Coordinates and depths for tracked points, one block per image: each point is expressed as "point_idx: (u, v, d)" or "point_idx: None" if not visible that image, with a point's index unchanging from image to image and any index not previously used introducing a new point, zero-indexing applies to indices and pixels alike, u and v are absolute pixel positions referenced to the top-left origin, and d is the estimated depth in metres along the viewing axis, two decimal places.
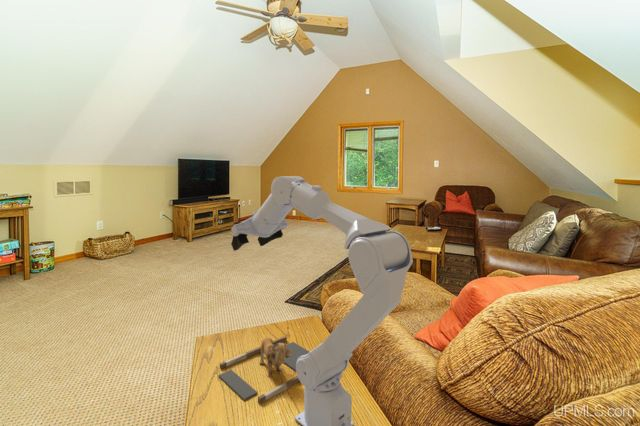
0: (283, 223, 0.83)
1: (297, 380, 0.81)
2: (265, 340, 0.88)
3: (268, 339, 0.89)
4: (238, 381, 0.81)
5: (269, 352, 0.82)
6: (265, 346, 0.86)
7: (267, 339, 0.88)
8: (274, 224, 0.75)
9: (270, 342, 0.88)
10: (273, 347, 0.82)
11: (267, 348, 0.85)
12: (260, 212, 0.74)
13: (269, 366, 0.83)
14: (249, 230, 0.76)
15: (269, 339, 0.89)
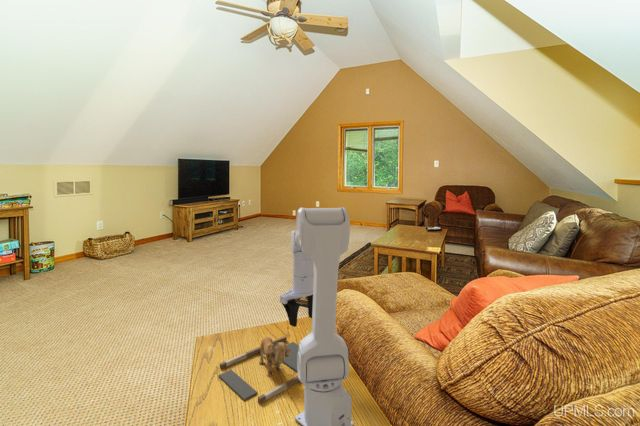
0: None
1: (297, 380, 0.81)
2: (265, 339, 0.88)
3: (268, 338, 0.89)
4: (238, 381, 0.81)
5: (269, 351, 0.83)
6: (265, 345, 0.87)
7: (267, 338, 0.89)
8: (308, 276, 0.89)
9: (270, 341, 0.88)
10: (273, 346, 0.82)
11: (267, 347, 0.85)
12: None
13: (269, 365, 0.83)
14: None
15: (269, 338, 0.89)
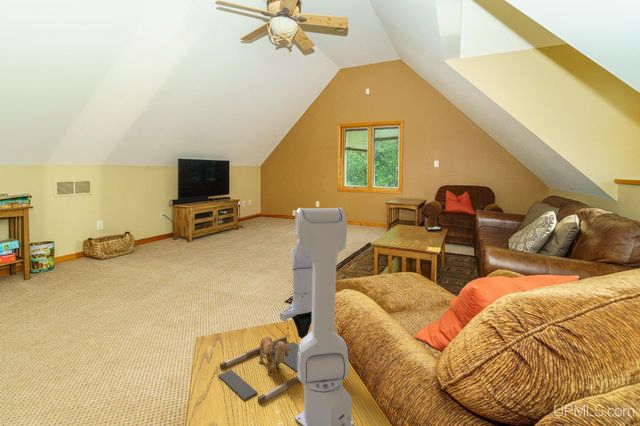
0: None
1: (297, 380, 0.81)
2: (264, 339, 0.89)
3: (267, 338, 0.89)
4: (238, 381, 0.81)
5: (269, 351, 0.83)
6: (264, 345, 0.87)
7: (266, 338, 0.89)
8: (308, 293, 0.90)
9: (269, 341, 0.88)
10: (273, 346, 0.82)
11: (266, 347, 0.86)
12: None
13: (269, 365, 0.84)
14: (294, 312, 0.89)
15: (268, 338, 0.89)
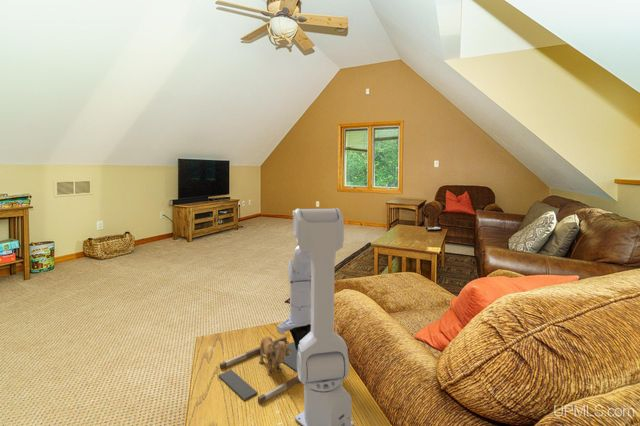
0: None
1: (297, 380, 0.81)
2: (264, 339, 0.89)
3: (267, 338, 0.89)
4: (238, 381, 0.81)
5: (269, 350, 0.83)
6: (265, 345, 0.87)
7: (266, 338, 0.89)
8: (305, 306, 0.89)
9: (270, 341, 0.88)
10: (273, 345, 0.83)
11: (267, 347, 0.86)
12: None
13: (269, 364, 0.84)
14: (291, 325, 0.89)
15: (268, 338, 0.89)
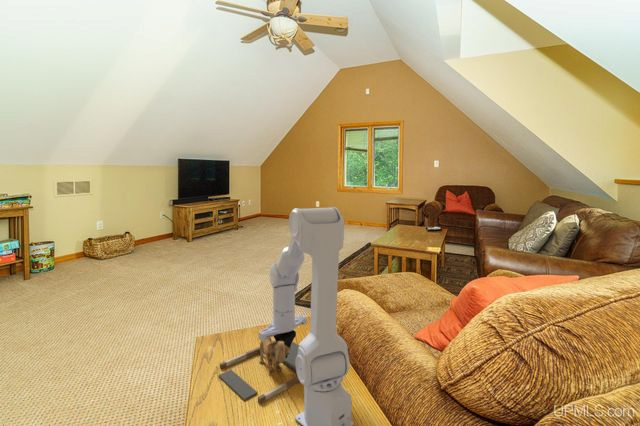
0: (301, 318, 0.93)
1: (297, 380, 0.81)
2: None
3: (267, 338, 0.89)
4: (238, 381, 0.81)
5: (269, 351, 0.83)
6: (264, 345, 0.87)
7: None
8: (289, 312, 0.85)
9: (269, 340, 0.88)
10: (273, 346, 0.82)
11: (266, 347, 0.86)
12: (273, 308, 0.87)
13: (269, 364, 0.84)
14: (273, 331, 0.85)
15: None
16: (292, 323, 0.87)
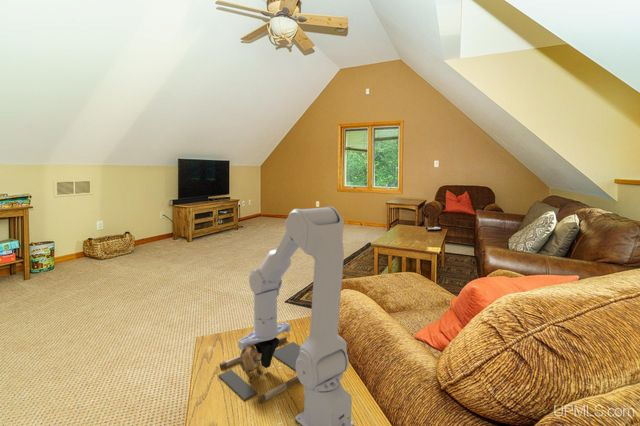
0: (285, 325, 0.88)
1: (297, 380, 0.81)
2: None
3: None
4: (238, 381, 0.81)
5: (240, 359, 0.79)
6: None
7: None
8: (270, 319, 0.81)
9: None
10: (241, 354, 0.79)
11: None
12: (254, 316, 0.82)
13: (246, 372, 0.80)
14: (254, 339, 0.81)
15: None
16: (274, 331, 0.83)
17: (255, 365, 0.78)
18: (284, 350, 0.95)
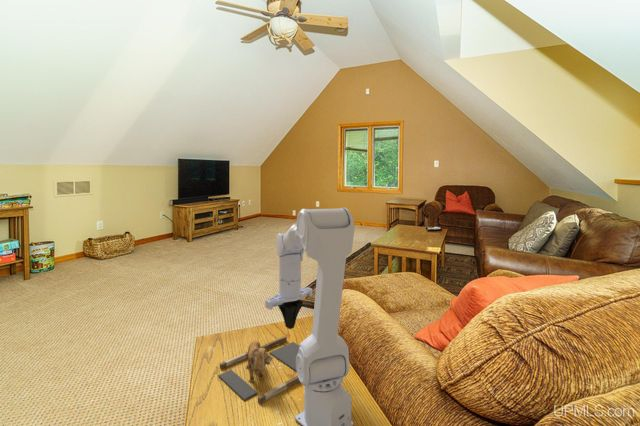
0: (307, 289, 0.93)
1: (297, 380, 0.81)
2: (251, 343, 0.86)
3: (255, 343, 0.87)
4: (238, 381, 0.81)
5: (250, 356, 0.80)
6: (250, 350, 0.85)
7: (254, 342, 0.87)
8: (295, 280, 0.86)
9: (256, 346, 0.86)
10: (253, 352, 0.80)
11: (251, 352, 0.83)
12: (279, 277, 0.87)
13: (250, 371, 0.81)
14: (280, 300, 0.85)
15: (256, 343, 0.87)
16: (298, 292, 0.87)
17: (264, 367, 0.79)
18: (284, 350, 0.95)
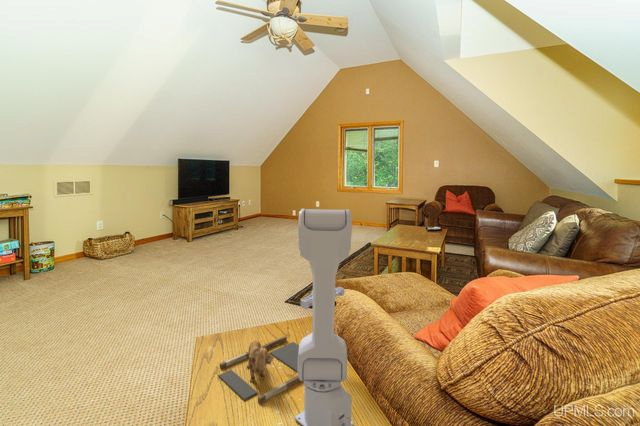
0: (339, 289, 0.93)
1: (297, 380, 0.81)
2: (252, 343, 0.86)
3: (255, 342, 0.87)
4: (238, 381, 0.81)
5: (251, 356, 0.80)
6: (250, 349, 0.85)
7: (254, 342, 0.87)
8: None
9: (256, 346, 0.86)
10: (254, 351, 0.80)
11: (251, 352, 0.83)
12: None
13: (251, 370, 0.81)
14: None
15: (256, 342, 0.87)
16: None
17: (265, 366, 0.79)
18: (284, 350, 0.95)
